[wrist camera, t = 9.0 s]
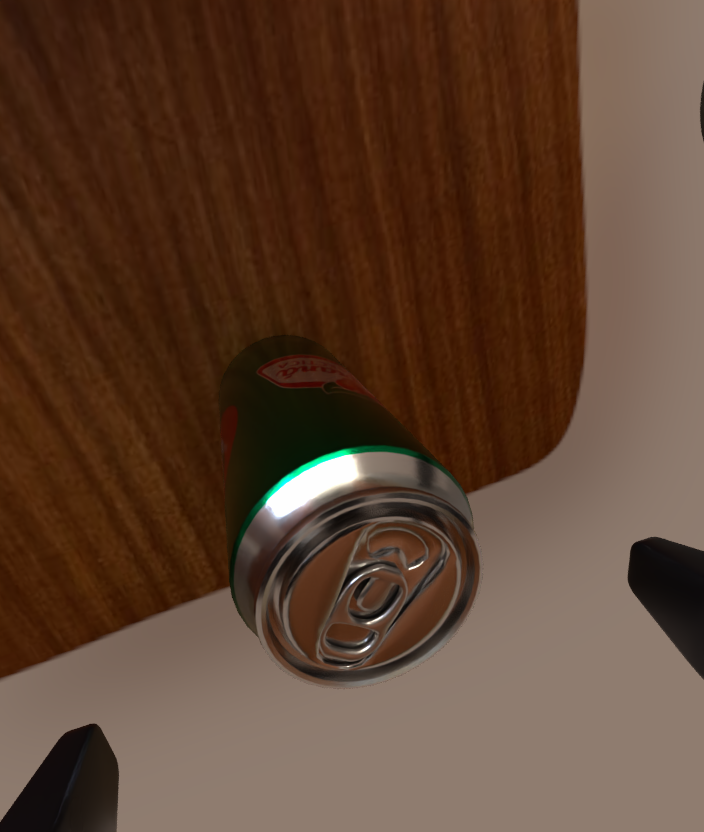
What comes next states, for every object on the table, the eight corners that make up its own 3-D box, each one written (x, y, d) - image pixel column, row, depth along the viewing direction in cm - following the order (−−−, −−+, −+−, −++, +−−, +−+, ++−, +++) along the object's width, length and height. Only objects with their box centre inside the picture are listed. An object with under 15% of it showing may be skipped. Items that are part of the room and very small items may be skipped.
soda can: (365, 364, 20) (550, 522, 9) (310, 467, 21) (418, 720, 10) (251, 309, 18) (316, 427, 7) (197, 425, 19) (182, 685, 8)
